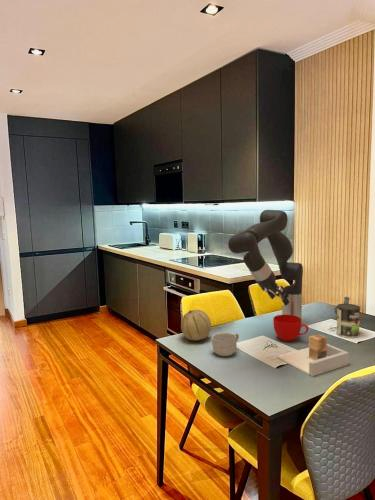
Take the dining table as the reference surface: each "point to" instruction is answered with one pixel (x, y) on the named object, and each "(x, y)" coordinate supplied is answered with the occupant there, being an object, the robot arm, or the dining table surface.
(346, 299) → the mortar and pestle
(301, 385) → the dining table surface
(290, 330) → the ceramic cup
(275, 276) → the robot arm
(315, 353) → the wood block
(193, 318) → the cantaloupe
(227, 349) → the teacup
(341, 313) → the coffee can
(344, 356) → the platform
